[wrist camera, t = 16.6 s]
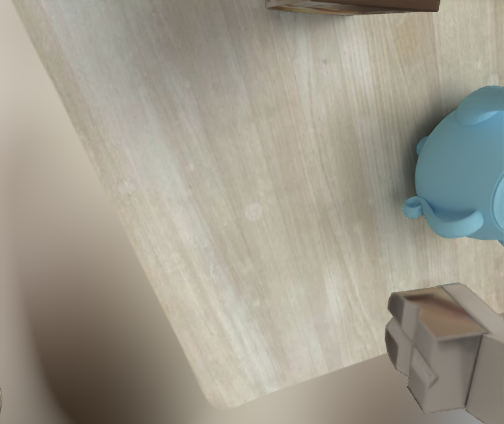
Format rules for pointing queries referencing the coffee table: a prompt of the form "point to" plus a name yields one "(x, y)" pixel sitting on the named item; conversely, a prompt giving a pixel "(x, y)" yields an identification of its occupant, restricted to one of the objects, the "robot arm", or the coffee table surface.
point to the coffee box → (354, 6)
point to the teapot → (464, 170)
